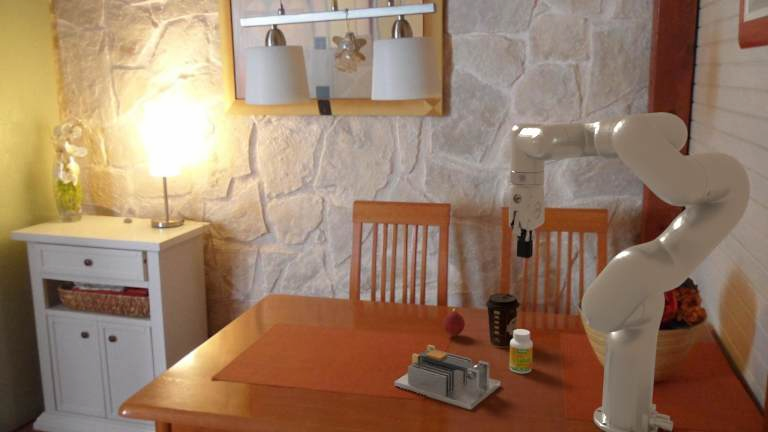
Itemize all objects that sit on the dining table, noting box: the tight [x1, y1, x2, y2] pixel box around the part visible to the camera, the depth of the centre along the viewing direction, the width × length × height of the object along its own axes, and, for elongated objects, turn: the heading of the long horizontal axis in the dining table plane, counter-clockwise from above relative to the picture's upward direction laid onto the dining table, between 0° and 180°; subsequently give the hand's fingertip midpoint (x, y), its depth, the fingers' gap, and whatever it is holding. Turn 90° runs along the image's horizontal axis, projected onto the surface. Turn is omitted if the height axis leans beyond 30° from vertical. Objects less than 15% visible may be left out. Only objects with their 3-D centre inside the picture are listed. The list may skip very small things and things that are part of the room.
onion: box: [442, 308, 466, 338], centre depth 188 cm, size 6×6×8 cm
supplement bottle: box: [509, 328, 534, 375], centre depth 167 cm, size 5×5×10 cm
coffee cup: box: [485, 293, 521, 349], centre depth 182 cm, size 9×8×13 cm
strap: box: [419, 349, 486, 376], centre depth 158 cm, size 16×3×2 cm, turn 54°
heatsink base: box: [394, 344, 501, 411], centre depth 159 cm, size 20×14×7 cm
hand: (524, 256), depth 160 cm, fingers closed
